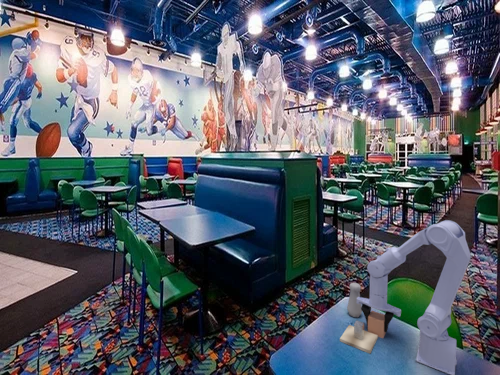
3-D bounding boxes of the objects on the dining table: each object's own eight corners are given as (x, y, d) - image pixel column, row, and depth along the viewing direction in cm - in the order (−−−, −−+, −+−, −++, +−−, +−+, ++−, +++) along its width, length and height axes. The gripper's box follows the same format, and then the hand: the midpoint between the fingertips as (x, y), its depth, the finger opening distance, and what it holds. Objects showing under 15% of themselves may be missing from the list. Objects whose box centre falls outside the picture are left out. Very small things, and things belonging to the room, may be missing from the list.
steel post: (363, 336, 91) (364, 322, 91) (361, 340, 89) (362, 326, 89) (356, 333, 93) (356, 320, 92) (354, 337, 91) (354, 323, 90)
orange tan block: (386, 331, 95) (386, 315, 95) (383, 338, 91) (383, 322, 91) (371, 325, 99) (371, 310, 98) (367, 332, 95) (368, 316, 94)
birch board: (377, 337, 92) (377, 335, 92) (370, 353, 84) (370, 351, 84) (349, 327, 98) (349, 324, 98) (339, 341, 90) (339, 338, 90)
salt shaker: (364, 318, 103) (365, 287, 102) (350, 318, 104) (350, 287, 103) (358, 310, 109) (359, 280, 108) (345, 310, 109) (345, 280, 108)
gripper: (403, 293, 92) (401, 329, 94) (360, 282, 102) (359, 315, 103) (399, 301, 87) (398, 340, 88) (355, 289, 96) (354, 324, 97)
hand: (377, 327), depth 95 cm, fingers closed on orange tan block, 5 cm apart
